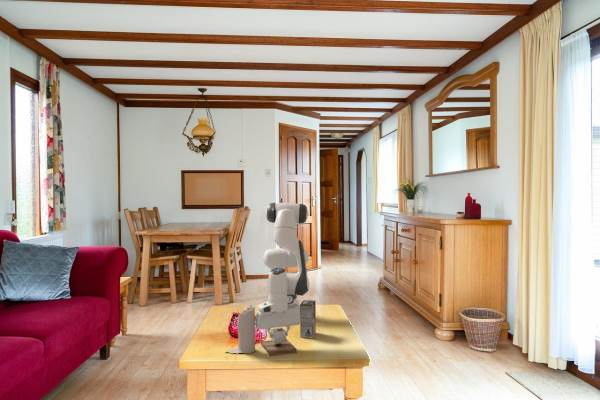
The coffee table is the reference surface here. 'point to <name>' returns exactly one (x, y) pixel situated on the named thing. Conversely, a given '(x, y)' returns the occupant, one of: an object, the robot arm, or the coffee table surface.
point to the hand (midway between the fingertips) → (278, 336)
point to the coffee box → (307, 319)
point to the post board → (278, 348)
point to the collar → (278, 336)
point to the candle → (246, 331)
